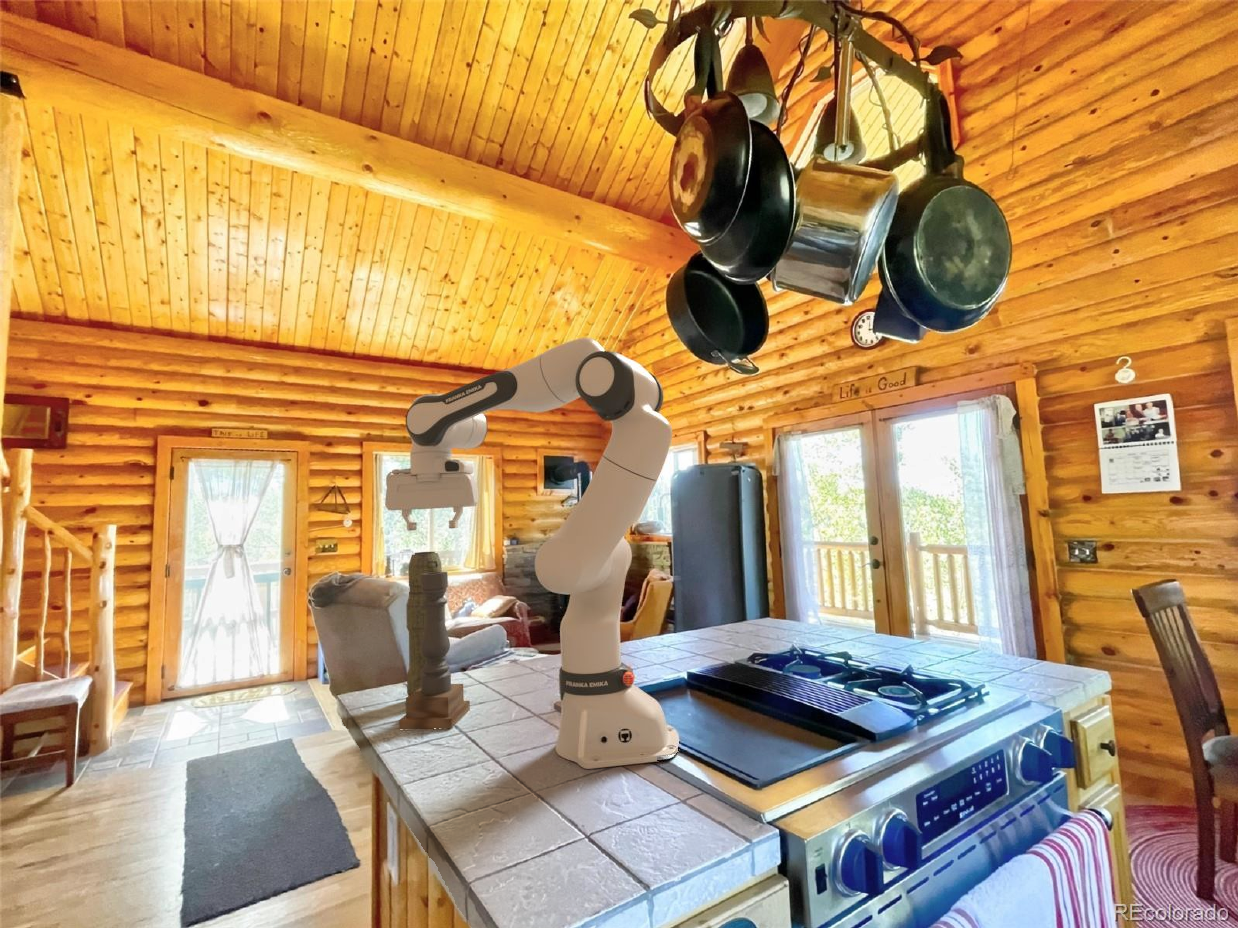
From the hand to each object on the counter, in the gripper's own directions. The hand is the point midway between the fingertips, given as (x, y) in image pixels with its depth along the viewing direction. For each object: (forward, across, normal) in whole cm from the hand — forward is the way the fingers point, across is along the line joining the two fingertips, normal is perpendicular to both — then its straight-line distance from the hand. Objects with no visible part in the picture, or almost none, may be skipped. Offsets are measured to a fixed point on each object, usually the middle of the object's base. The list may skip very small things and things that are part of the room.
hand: (432, 529), depth 122 cm
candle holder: (+35, 0, 0) cm, 35 cm away
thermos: (+41, -7, +12) cm, 43 cm away
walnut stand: (+40, 0, 0) cm, 41 cm away
